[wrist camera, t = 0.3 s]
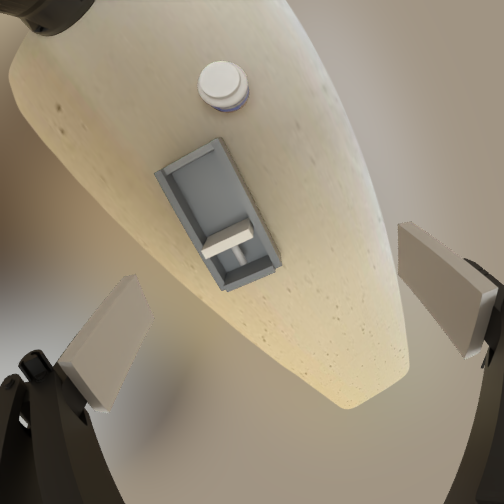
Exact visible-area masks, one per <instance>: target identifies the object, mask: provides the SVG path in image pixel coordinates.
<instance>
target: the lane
mask: <svg viewBox="0 0 504 504" xmlns="http://www.w3.org/2000/svg"><path fill="white" fill-rule="evenodd" d="M154 175H155V177H156V179H157V180H158V182H159V184H160V186H161V188H162V190H163V191H164V193H165V195H166V197H167V199H168V200H169V202H170V204H171V206H172V208H173V209H174V211H175V213H176V215H177V217H178V218H179V220H180V222H181V224H182V225H183V227H184V229H185V231H186V232H187V234H188V236H189V237H190V239H191V241H192V243H193V244H194V246H195V248H196V250H197V251H198V253H199V255H200V256H201V258H202V260H203V261H204V263H205V265H206V266H207V268H208V270H209V271H210V273H211V275H212V276H213V278H214V280H215V281H216V283H217V285H218V286H219V288H220V290H221V291H223V290H226V291H227V292H229V291H232V290H234V289H236V288H239V287H241V286H244V285H246V284H249V283H251V282H253V281H256V280H258V279H260V278H263V277H265V276H268V275H270V274H272V273H275V272H276V271H275V269H276V268H278V267H280V266H282V261H281V255H280V252H279V250H278V248H277V246H276V244H275V242H274V240H273V238H272V236H271V234H270V232H269V230H268V228H267V226H266V224H265V222H264V220H263V218H262V216H261V214H260V212H259V210H258V208H257V206H256V204H255V202H254V200H253V198H252V196H251V194H250V192H249V190H248V188H247V186H246V184H245V182H244V180H243V178H242V176H241V174H240V172H239V170H238V168H237V166H236V164H235V163H234V161H233V159H232V157H231V155H230V153H229V151H228V149H227V147H226V145H225V143H224V141H223V139H222V138H216V139H214V140H212V141H210V142H209V143H208V144H206V145H204V146H202V147H200V148H198V149H196V150H195V151H193V152H191V153H189V154H187V155H186V156H184V157H182V158H180V159H179V160H177V161H175V162H173V163H172V164H170V165H168V166H167V167H165V168H163V169H161V170H159V171H157V172H156V173H154ZM247 218H250V220H251V222H252V224H253V226H254V233H253V238H251V239H249V240H247V241H245V242H243V243H240V244H238V246H239V247H240V249H241V251H242V253H243V255H244V257H245V258H246V260H247V263H246V264H245V265H242V266H241V265H240V263H239V262H238V260H237V258H236V256H235V254H234V253H233V251H232V249H231V248H229V249H227V250H225V251H223V252H221V253H218V254H216V255H214V256H212V257H210V258H207V259H205V257H204V255H203V254H202V252H201V250H202V248H203V246H204V244H205V242H206V240H207V238H208V237H209V236H211V235H213V234H215V233H217V232H219V231H222V230H224V229H226V228H228V227H230V226H232V225H234V224H236V223H238V222H241V221H243V220H245V219H247Z"/></svg>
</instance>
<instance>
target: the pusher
mask: <svg viewBox="0 0 504 504" xmlns="http://www.w3.org/2000/svg"><path fill="white" fill-rule="evenodd" d="M253 233H254V226H253V224H252V222H251V220H250V218H247V219H245V220H243V221H241V222H238V223H236V224H234V225H232V226H230V227H228V228H226V229H224V230H222V231H219V232H217V233H215V234H213V235H211V236H209V237H208V238H207V240H206V242H205V244H204V246H203V248H202V250H201V252H202V254H203V255H204V257H205V259H207V258H210V257H212V256H214V255H216V254H218V253H221V252H223V251H225V250H227V249H229V248H231V249H232V251H233V253H234V254H235V256H236V258H237V260H238V262H239V263H240V265H241V266H242V265H245V264H246V263H247V260H246V258H245V257H244V255H243V253H242V251H241V249H240V247H239V246H238V244H240V243H243V242H245V241H247V240H249V239H251V238H253Z"/></svg>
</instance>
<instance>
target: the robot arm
mask: <svg viewBox="0 0 504 504" xmlns="http://www.w3.org/2000/svg"><path fill="white" fill-rule="evenodd" d="M93 2H94V0H0V13H3V14H7V15H12V16H15V17H19V18H20V19H21V20H22V21H23V22H24V23H25V24H26V25H27V27H28V28H29V29H30V30H31V31H32V32H34V33H36V34H40V35H43V36H52V35H55V34H58V33H60V32H62V31H64V30H65V29H67V28H68V27H70V26H71V25H73V24H74V23H75V22H76V21H77V20H78V19H79V18H80V17H81V16H82V15H83V14H84V13H85V12H86V11H87V10H88V9H89V7H90V6H91V5H92V3H93ZM398 275H399V276H400V277H401V278H402V279H403V281H404V282H405V283H406V284H407V286H408V287H409V288H410V289H411V290H412V291H413V293H414V294H415V295H416V296H417V297H418V299H419V300H420V301H421V303H422V304H423V305H424V306H425V307H426V309H427V310H428V311H429V313H430V314H431V315H432V316H433V318H434V319H435V320H436V321H437V323H438V324H439V325H440V327H441V328H442V329H443V331H444V332H445V333H446V335H447V336H448V337H449V339H450V340H451V341H452V343H453V344H454V346H455V347H456V348H457V350H458V351H459V353H460V354H461V355H462V357H463V358H464V359H467V358H469V357H471V356H473V355H476V354H478V353H479V352H480V350H481V347H482V344H483V341H484V340H485V341H486V342H487V344H488V345H489V348H488V351H487V354H486V356H485V358H484V361H483V364H482V366H481V368H484V365H485V368H484V376H483V381H482V387H481V392H480V397H479V402H478V406H477V411H476V415H475V419H474V423H473V426H472V430H471V433H470V437H469V440H468V443H467V446H466V450H465V452H464V456H463V458H462V461H461V464H460V466H459V469H458V472H457V474H456V477H455V479H454V482H453V484H452V487H451V489H450V491H449V493H448V495H447V498H446V500H445V502H444V504H504V285H503V284H501V283H500V282H499V281H498V280H497V279H495V278H494V277H493V276H492V275H490V274H489V273H488V272H487V271H486V270H483V268H482V267H480V266H479V265H478V264H476V263H475V262H473V261H471V260H468V259H465V258H464V259H463V258H461V257H460V256H458V255H457V254H456V253H454V252H453V251H452V250H451V249H449V248H448V247H446V246H445V245H444V244H443V243H441V242H440V241H438V240H437V239H435V238H434V237H433V236H431V235H430V234H429V233H427V232H426V231H424V230H423V229H421V228H420V227H418V226H417V225H415V224H414V223H412V222H406V223H401V224H398ZM153 320H154V316H153V314H152V312H151V310H150V307H149V305H148V302H147V300H146V298H145V295H144V293H143V291H142V288H141V286H140V283H139V281H138V279H137V276H136V274H135V275H129V276H124V277H123V278H122V279H121V280H120V282H119V283H118V284H117V285H116V287H115V288H114V289H113V290H112V291H111V293H110V294H109V295H108V296H107V297H106V298H105V300H104V301H103V302H102V303H101V305H100V306H99V307H98V308H97V310H96V311H95V312H94V313H93V315H92V316H91V317H90V319H89V320H88V321H87V323H86V324H85V325H84V326H83V328H82V329H81V330H80V331H79V333H78V334H77V335H76V336H75V337H74V339H73V340H72V342H71V343H70V344H69V345H68V347H67V349H66V350H65V351H64V352H63V354H62V355H61V356H60V358H59V359H58V361H57V362H56V363H55V365H54V366H52V365H51V364H50V362H49V361H48V359H47V358H46V356H45V355H44V353H43V352H42V351H41V350H34V351H31V352H29V353H28V354H26V355H25V356H24V357H23V358H22V359H21V361H20V363H19V365H18V367H19V368H20V369H21V371H22V372H23V373H24V375H25V376H26V378H27V379H28V381H29V382H25V383H24V381H23V380H22V379H21V377H20V376H19V375H18V374H12V375H9V376H8V377H6V378H5V379H4V381H3V382H2V384H1V386H0V504H125V503H124V501H123V499H122V497H121V495H120V493H119V491H118V489H117V486H116V484H115V482H114V480H113V478H112V476H111V473H110V471H109V469H108V466H107V464H106V461H105V459H104V456H103V454H102V451H101V448H100V446H99V443H98V440H97V438H96V435H95V432H94V429H93V426H92V422H91V419H90V416H89V413H88V412H87V411H86V409H85V408H84V407H85V405H86V403H87V402H88V404H90V406H91V407H92V408H93V409H94V411H96V412H103V413H110V410H111V408H112V406H113V404H114V401H115V399H116V397H117V395H118V393H119V390H120V388H121V386H122V384H123V381H124V380H125V378H126V375H127V373H128V371H129V369H130V367H131V365H132V363H133V361H134V359H135V357H136V354H137V352H138V351H139V349H140V346H141V344H142V342H143V340H144V338H145V336H146V334H147V332H148V330H149V329H150V326H151V324H152V323H153ZM19 416H21V417H22V418H23V419H24V420H25V421H26V423H28V427H27V428H25V427H24V426H23V425H22V424H21V423H20V421H19Z"/></svg>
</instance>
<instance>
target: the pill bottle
mask: <svg viewBox="0 0 504 504" xmlns="http://www.w3.org/2000/svg"><path fill="white" fill-rule="evenodd" d="M197 88H198V92H199V95H200V96H201V98H202V99H203V100H204V101H205V102H206V103H208V104H209V105H211V106H212V107H214V108H215V109H217V110H219V111H222V112H233V111H236V110H238V109H240V108H241V107H243V106H244V105H245V104H246V102H247V100H248V97H249V87H248V79H247V76H246V74H245V72H244V71H243V69H242V68H241V67H240V66H238V65H236V64H234V63H232V62H226V61H216V62H212V63H210V64H209V65H207V66H206V67H205V68H204V69H203V70H202V72H201V74H200V76H199V79H198V83H197Z"/></svg>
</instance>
